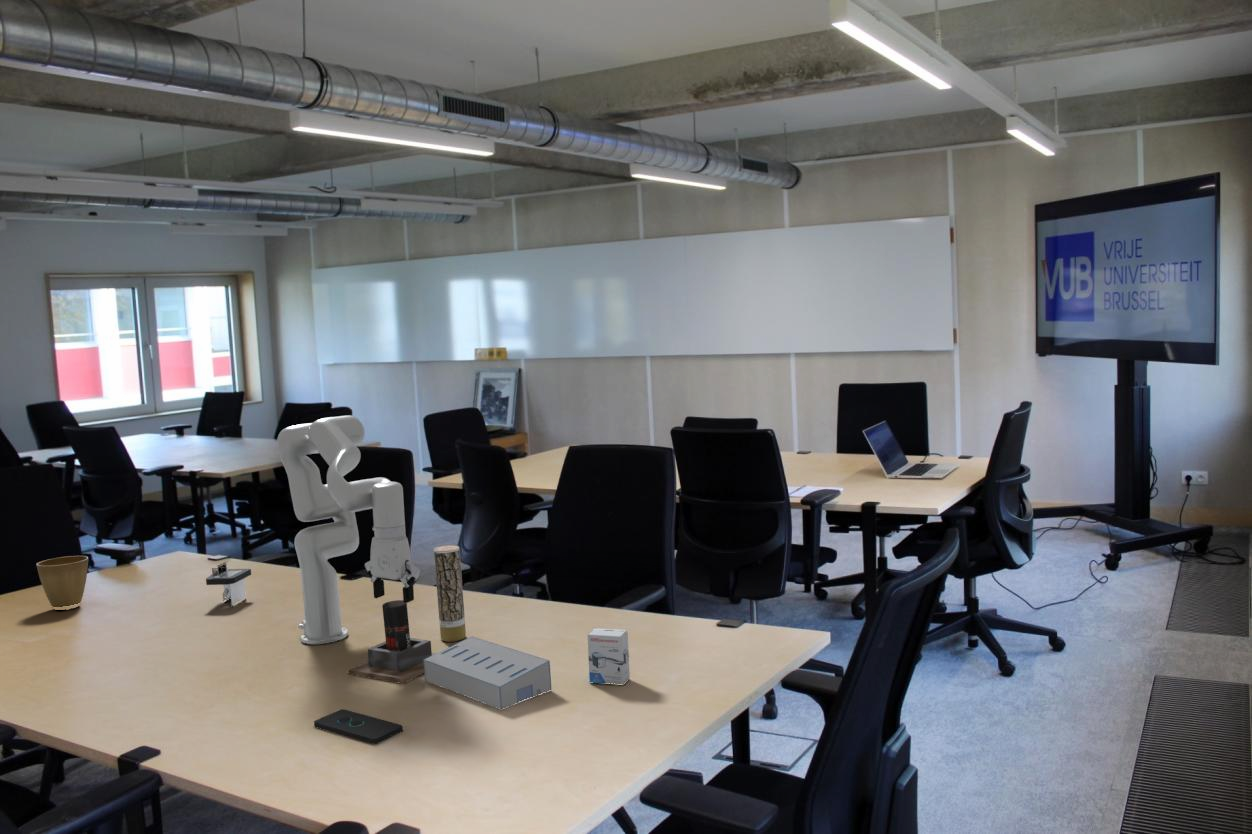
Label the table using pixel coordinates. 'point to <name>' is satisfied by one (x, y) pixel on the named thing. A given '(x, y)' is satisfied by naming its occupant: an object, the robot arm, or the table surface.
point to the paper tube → (450, 593)
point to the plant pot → (63, 579)
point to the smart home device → (358, 726)
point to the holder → (395, 662)
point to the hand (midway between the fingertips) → (393, 599)
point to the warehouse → (489, 672)
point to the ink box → (608, 656)
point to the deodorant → (396, 625)
